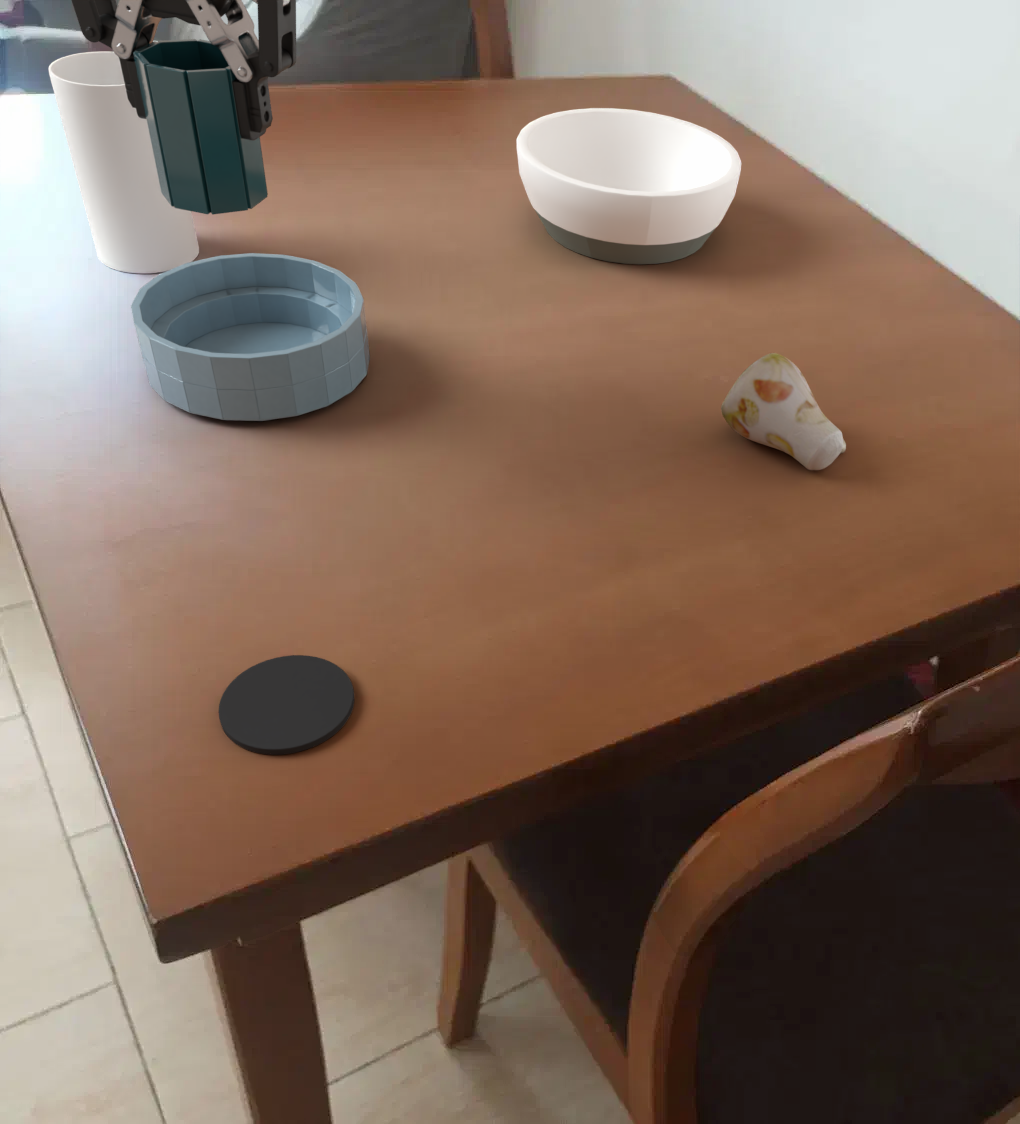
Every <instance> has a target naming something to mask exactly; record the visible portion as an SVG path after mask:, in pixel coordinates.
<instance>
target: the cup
mask: <svg viewBox="0 0 1020 1124" xmlns="http://www.w3.org/2000/svg"><path fill="white" fill-rule="evenodd" d="M48 76H49V79H50V83H51V86H52V91H53V94H54V97H55V101H56V102H55V103H56V105H57V108H58V112H59V116H60V120H61V123H62V124H61V125H62V127H63V131H64V135H65V138H66V142H67V146H68V150H69V153H70V158H71V161H72V165H73V169H74V173H75V176H76V180H77V184H78V187H79V191H80V195H81V199H82V203H83V206H84V210H85V214H86V217H87V220H88V225H89V228H90V229H89V230H90V233H91V236H92V240H93V243H94V247H95V252H96V255H97V259H98V261H99V262H100V263H102V265H104V266H106V267H107V268H109V269H112V270H115V271H118V272H123V273H129V274H157V273H164V272H166V271H168V270H171V269H173V268H176V267H178V266H180V265H183V264H185V263H189V262H193V261H195V260H196V258H197V257H198V255H199V253H200V246H199V242H198V236H197V232H196V227H195V221H194V217H193V211H188V210H183V209H177V208H174V206H173V207H172V206H171V205H170V204H169V202H168V201H167V200H166V198H165V197H164V196H163V194H162V193H161V188H160V183H159V178H158V173H157V168H156V163H155V158H154V154H153V149H152V144H151V139H150V134H149V129H148V124H147V119H142V118H139V116H138V115H137V111H136V108H133V107H132V106H131V104H130V102H129V100H128V97H127V92H126V88H125V82H124V78H123V73H122V69H121V64H120V60H119V57H118V56H117V55H116V54H115V53H114V51H87V52H78V53H73V54H69V55H66V56H62V57H59V58H57V59H55V60H53V61H52V62H51V63H50V64H49V66H48Z"/></svg>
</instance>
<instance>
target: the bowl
mask: <svg viewBox="0 0 1020 1124" xmlns="http://www.w3.org/2000/svg"><path fill="white" fill-rule="evenodd" d="M515 142H516V155H517V164H518V174H519V176H520V179H521V182H522V185H523V188H524V190H525V193H526V195H527V199H528V201H529V202H530V204H531V207H532V208H533V209H534V211H535V213H536V215H537V216H538V218H539V220H540V222H541V223H542V225H543V226H544V228H545V230H546V232H547V234H548V235H549V236H550V237H551V238H552V239H553V240H554V241H555V242H556V243H558V244H560V245H561V246H563V247H564V248H566V249H568V250H570V251H573V252H575V253H577V254H578V255H579V254H580V255H582V256H585V257H588V258H591V259H596V260H600V261H603V262H604V261H605V262H608V263H609V262H611V263H617V264H624V265H627V264H628V265H654V264H655V265H657V264H663V263H670V262H674V261H678V260H681V259H685V258H687V257H689V256H691V255H694V254H695V253H696V252H697V251H699V250H700V249H701V248H702V247H703V246H704V244H705V243H706V241H707V240H708V239H709V238H710V236H711V235H712V234H713V233H714V231H715V230H717V229H716V228H717V227H718V226H719V225H720V224H721V222H722V220H723V219H724V217H725V216H726V213H727V212H728V210H729V208H730V206H731V204H732V202H733V200H734V198H735V197H736V193H737V188H738V184H739V180H740V176H741V171H742V160H741V158H740V155H739V152H738V150H736V148H735V147H734V146H733V145H732V144H731V143H730V142H729V141H727V140H726V139H724V138H723V137H722V136H721V135H718V134H717V133H715V132H714V131H711V130H710V129H708V128H706V127H703V126H702V125H701V126H700V125H698V124H695V123H693V122H690V121H687V120H683V119H681V118H677V117H673V116H670V115H666V114H661V113H655V112H651V111H643V110H637V109H628V108H627V109H626V108H616V107H615V108H614V107H590V108H589V107H588V108H578V109H577V108H575V109H568V110H563V111H562V110H561V111H556V112H553V113H549V114H546V115H543V116H540V117H538V118H536V119H534V120H532V121H530V122H529V123H527V124H526V125H525V126H524V127H522V128H521V130H520V131H519V134H518V135H517V138H516V141H515Z"/></svg>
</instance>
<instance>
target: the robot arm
mask: <svg viewBox="0 0 1020 1124" xmlns="http://www.w3.org/2000/svg"><path fill="white" fill-rule="evenodd" d="M251 1H252V2H253V3H255V4H256V5H257V34H258V36H257V35H256V33H255V23H254V21H253V18H252V17H251V14H250V13H249V12H248V10H247V8H246V6H245V4H244V1H242V0H118V2H117V1H116V0H71V3H72V6H73V9H74V12H75V16H76V18H77V22H78V24H79V27H80V31H81V34H82V35H83V37H84V38H85V39H86V40H87V41H88V42H90V43H98V42H99V43H101V44H103V45H105V46H107V47H108V48H110V49H111V50H112V52H114V53H115V54H116V55H117V56H118V57H119V60H120V64H121V69H122V73H123V78H124V82H125V88H126V92H127V97H128V100H129V102H130V104H131V106H132V107H133V108H136V111H137V115H138V116H139V118H142V119H146V114H145V109H144V104H143V99H142V94H141V89H140V84H139V79H138V75H137V70H136V65H135V60H134V55H133V52H134V51H135V50H137V49H139V48H141V47H143V46H145V45H148V44H150V43H152V42H154V40H155V37H156V33H157V30H158V26H159V24H160V22H161V21H162V20H163V19H173V18H176V19H179V20H180V21H183V22H185V23H186V24H190V25H195V26H200V28H201V30H203V32H204V34H205V36H206V38H207V39H208V41H210V42H211V44H212V45H214V46H216V47H218V48H219V49H220V51H221V52H222V54H223V56H224V58H225V59H226V61H227V63H228V65H229V66H230V68H231V70H232V72H233V73H234V75H235V77H236V78H237V79H235V80H234V81H232V86H233V92H234V99H235V105H236V112H237V118H238V125H239V131H240V135H241V137H242V138H243V139H248V140H253V141H254V140H256V139H257V138H259V137H260V138H261V137H262V136H263V135H265V134H266V132H267V129H269V128H270V127H271V126H272V123H273V119H274V118H273V111H272V103H271V96H270V95H271V94H270V88H269V78H275V77H277V76H278V75H280V74H281V73H283V72H284V71H285V70H287V69H290V68H292V67H294V66H295V65H296V63H297V0H251ZM223 16H225V17H226V19H227V23H226V22H225V21H224V20H223V19H222V17H223Z"/></svg>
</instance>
